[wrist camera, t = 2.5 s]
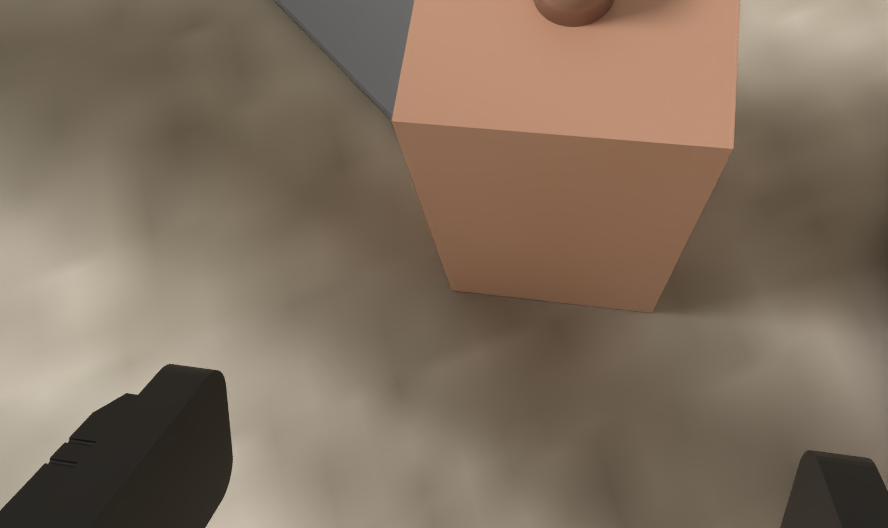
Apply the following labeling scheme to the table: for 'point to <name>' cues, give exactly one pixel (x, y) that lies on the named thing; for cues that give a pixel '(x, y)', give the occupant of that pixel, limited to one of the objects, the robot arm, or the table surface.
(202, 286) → the table surface
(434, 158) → the tan rectangular block
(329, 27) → the mat
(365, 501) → the table surface
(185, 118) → the table surface
